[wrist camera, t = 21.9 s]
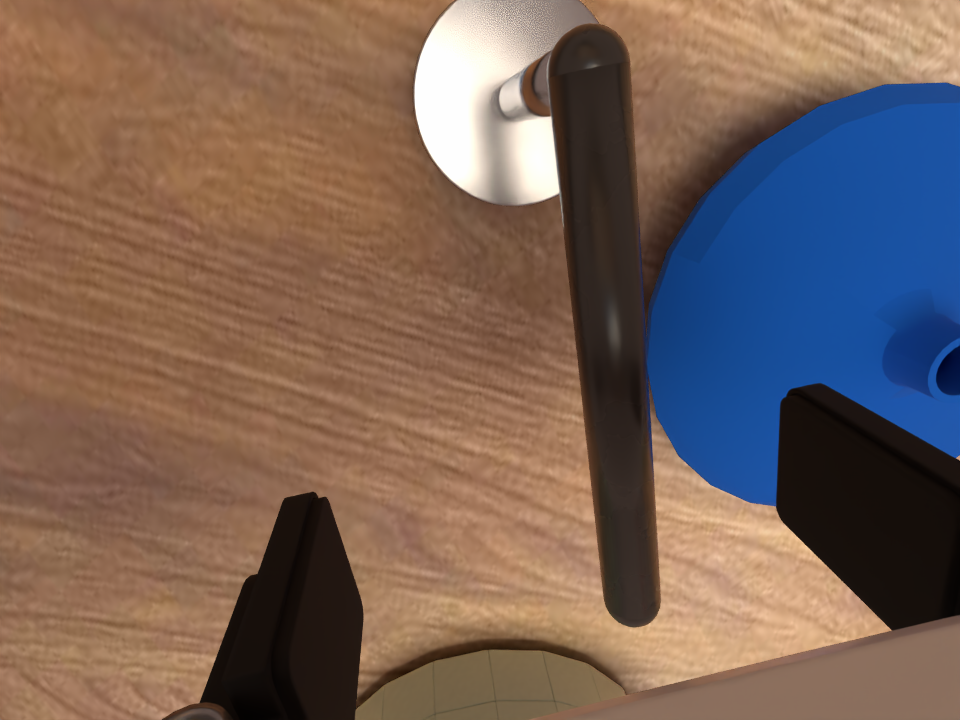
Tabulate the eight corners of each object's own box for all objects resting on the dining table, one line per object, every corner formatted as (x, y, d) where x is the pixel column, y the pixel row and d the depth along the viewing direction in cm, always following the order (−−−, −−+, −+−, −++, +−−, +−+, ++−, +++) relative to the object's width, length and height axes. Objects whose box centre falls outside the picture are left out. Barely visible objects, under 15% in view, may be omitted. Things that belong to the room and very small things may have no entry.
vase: (560, 207, 20) (630, 239, 14) (976, 8, 19) (1265, -60, 13) (680, 520, 26) (768, 646, 20) (1002, 380, 25) (1208, 464, 19)
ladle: (394, 19, 17) (368, -140, 8) (580, -14, 18) (789, -208, 8) (478, 444, 23) (524, 666, 14) (616, 415, 24) (760, 613, 14)
